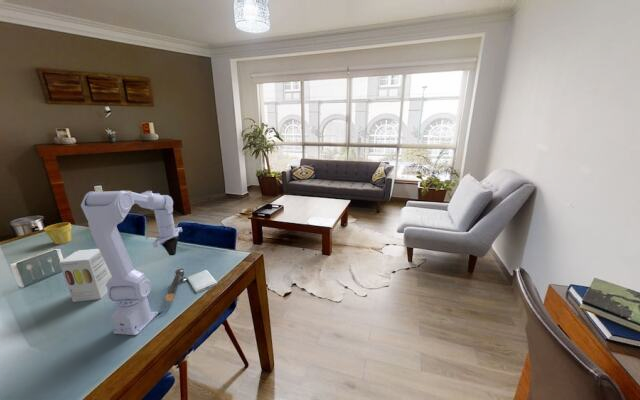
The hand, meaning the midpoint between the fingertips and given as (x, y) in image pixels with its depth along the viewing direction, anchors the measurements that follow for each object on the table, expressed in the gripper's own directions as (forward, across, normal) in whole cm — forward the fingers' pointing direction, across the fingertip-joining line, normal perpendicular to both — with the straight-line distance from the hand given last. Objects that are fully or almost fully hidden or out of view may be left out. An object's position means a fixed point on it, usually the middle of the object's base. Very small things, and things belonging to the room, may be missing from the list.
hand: (172, 254), depth 103 cm
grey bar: (+8, -10, -7) cm, 14 cm away
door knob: (+10, -3, -4) cm, 12 cm away
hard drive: (+11, -3, -13) cm, 17 cm away
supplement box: (+11, -13, +25) cm, 30 cm away
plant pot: (+11, +26, +87) cm, 91 cm away
